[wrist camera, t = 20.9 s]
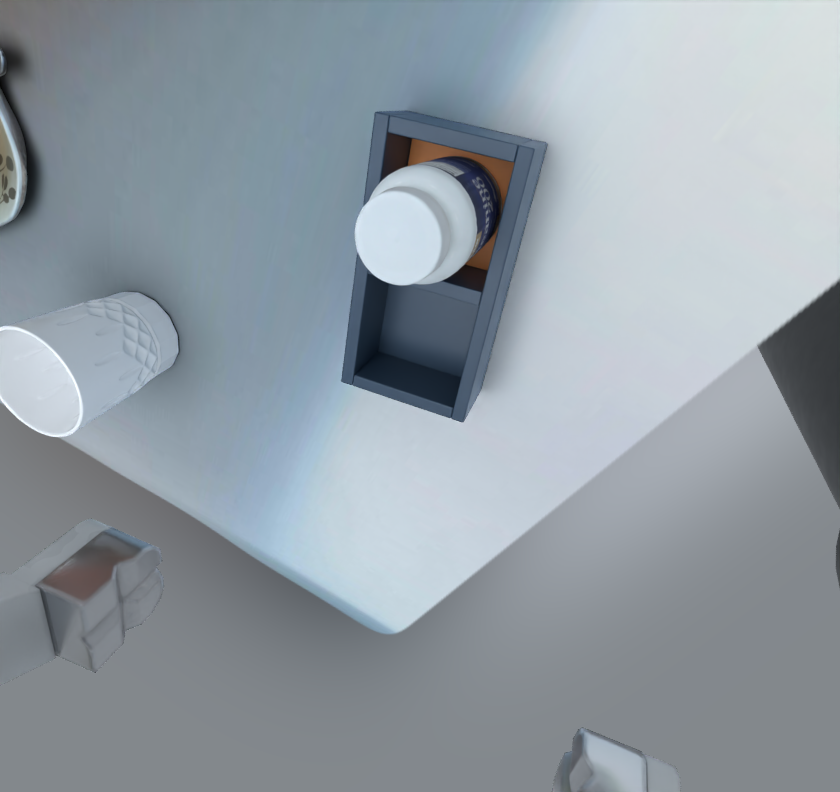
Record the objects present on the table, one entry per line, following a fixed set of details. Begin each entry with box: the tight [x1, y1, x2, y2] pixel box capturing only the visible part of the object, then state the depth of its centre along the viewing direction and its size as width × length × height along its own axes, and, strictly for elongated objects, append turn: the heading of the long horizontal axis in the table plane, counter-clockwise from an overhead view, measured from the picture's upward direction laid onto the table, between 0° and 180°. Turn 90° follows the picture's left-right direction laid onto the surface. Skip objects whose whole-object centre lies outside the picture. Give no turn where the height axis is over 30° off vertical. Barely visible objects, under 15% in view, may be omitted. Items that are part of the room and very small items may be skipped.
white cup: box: [0, 292, 179, 437], centre depth 41 cm, size 8×8×10 cm
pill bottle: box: [355, 156, 502, 285], centre depth 28 cm, size 5×5×10 cm
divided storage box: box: [341, 111, 547, 422], centre depth 33 cm, size 8×15×5 cm, turn 169°
